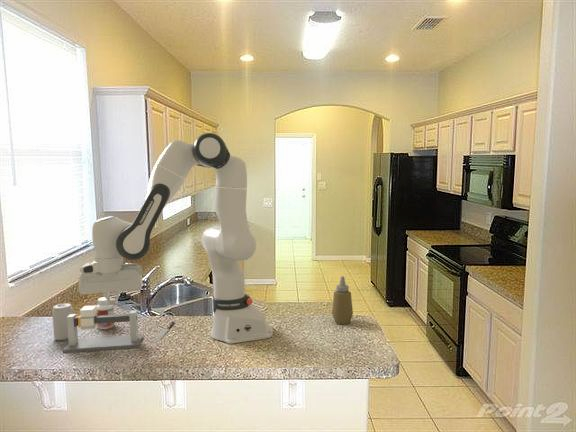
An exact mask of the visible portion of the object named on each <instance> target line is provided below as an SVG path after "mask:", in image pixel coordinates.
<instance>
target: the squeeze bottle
mask: <svg viewBox="0 0 576 432" xmlns="http://www.w3.org/2000/svg"><path fill="white" fill-rule="evenodd" d="M345 279H346V278H345V276H344V275H343V276H342V275H341V276H340V280H339V284H337V285H336V290H335V291H334V292H333V300H332V310H331V315H332V318H333V319H334V320H333V321H334V323H335V324H337V325H349V324H350V323H351V321H352V318H353V314H354V311H353V301H352V300H353V299H352V293H351V291H350V290H349V288H350V287H349V285H347V283H346V280H345Z"/></svg>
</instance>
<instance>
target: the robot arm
mask: <svg viewBox="0 0 576 432" xmlns="http://www.w3.org/2000/svg"><path fill="white" fill-rule="evenodd" d="M195 166H198V167H203V168H208V169H209V168H212V169H213V171H214V173H215V191H214V205H213V206H214V207H213V209H214V211H215V213H216V214H217V218H218V222H219V225H213V226H211V227H208V228H206V229H205V230H204V232H203V233H202V235H201V245H202V247H203V248H204V250H205V252H206V254H207V258H208V260H209V265H210V269H211V274H212V282H213V283H212V284H213V285H212V286H213V296H212V312H213V320H212V326H211V332H210V337H211V338H212V339H215V340H217V341H221V342H225V343H227V344H229V345H231V344H238V343H244V342H251V341H258V340H264V339H265V340H266V339H270V338H271V337H272V336H273V334H274V330H273V326H272V325H271V324H270V323H269V322H267V319H266V316H265V314H264V313H263V312H262V311H261V310H260V309H258V308H257V307H256V306H254V305H252V304H253V299H252V298H251V296H250V295H249V294H246V293H245V292H246V291H245V290H246V289H245V273H244V270H243V269H242V268H241V266H240V263H239V261H241V262H242V261H245V260H246V261H247V260H249V259H250V258H251V257H253V255H254V254H255V253H256V250H257V240H256V239H255V237H254V235H253V234H252V232H251V230H250V226H249V222H248V221H249V220H248V217H247V192H248V191H247V190H248V171H247V164H246V162H245V161H244V160H243V159H242V158H241V157H238V156H233V155H231V153H230V152H229V149H228V147H227V145H226V143H225V141H224V140H223V138H222V137H221V136H220V135H218V134H217V133H214V132H213V133H212V132H206V133H202V134H201V135H199V136H198V137H197V138H196V140H195V141H194V143H187V142H186V141H183V140H172V141H171V142H170V143H169V144H168V145H167V146H166V148H165V149H164V150H163V152H162V153H161V154H160V155H159V157H158V159H157V161H156V163H155V165H154V166H153V169H152V170H151V174H150V176H149V179H148V183H147V190H146V195H145V199H144V201H143V204H142V206H141V207H140V209H139V211H138V213H137V214H136V217H135V218H134V220H133V221H132V222H129V221H125V220H123V219H122V218H119V217H117V216H115V215H110V216H106V217H105V216H104V217H101V218H99V219H97V220H95V222H94V223H93V224H92V229H91V230H92V231H91V232H92V247H94V256H93V259H94V260H92V261H89V262H86V263H85V264H84V265H82V266H81V267H80V269H79V272H80V275H79V277H78V293H80V294H81V295H91V294H101V293H102V294H103V297H105V298H106V299H107V300H108V305H119V300H118V299H119V297H120V295H121V292H127V291H128V292H129V291H131V292H132V291H139V290H141V289H142V288H143V285H144V282H143V276H142V273H143V269H142V265H141V264H140V263H137V262H130V263H129V262H125V263H124V259H126V260H131V261H135V260H140V259H142V258H143V257H145V255H147V253H149V249H150V244H151V240H150V239H151V234H152V232H153V229H154V227H155V225H156V223H157V221H158V219H159V218H160V215H162V211H163V210H164V208H165V207H166V206H167V205H168V203H169V202H170V201H171V200H172V199H173V197H175V195H177V194H178V192H179V191H180V189H181V187H182V186H183V184H184V182H185V180H186V179H187V177H188V175H189V174H190V171H191V170H192V168H193V167H195ZM110 293H114V295H115V297H113V298H110V297H111V296H110Z"/></svg>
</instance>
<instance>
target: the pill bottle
mask: <svg viewBox="0 0 576 432" xmlns="http://www.w3.org/2000/svg"><path fill="white" fill-rule="evenodd" d="M110 298H111V296H110ZM97 303H98V304H97V305H96V306H97V316H103V315H115V309H114V308H115V307H114V305H115V304H113V305H108V300H107V299H106V298H105V297H104V296H103V297H99V298H98V299H97ZM114 326H115V322H113V323H98V325H97V326H96V327H97V329H99V330H107V329H111V328H113V327H114Z"/></svg>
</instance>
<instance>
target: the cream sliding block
mask: <svg viewBox="0 0 576 432" xmlns="http://www.w3.org/2000/svg"><path fill="white" fill-rule="evenodd" d="M79 315H80V319H81V327H80V330H81V331H86V330H89V331H90V330H95V328H96V327H97V325H98V323H97V324H94V317H95V316H97V305H84V306H83V307H82V308H81V309H80V310H79Z"/></svg>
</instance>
